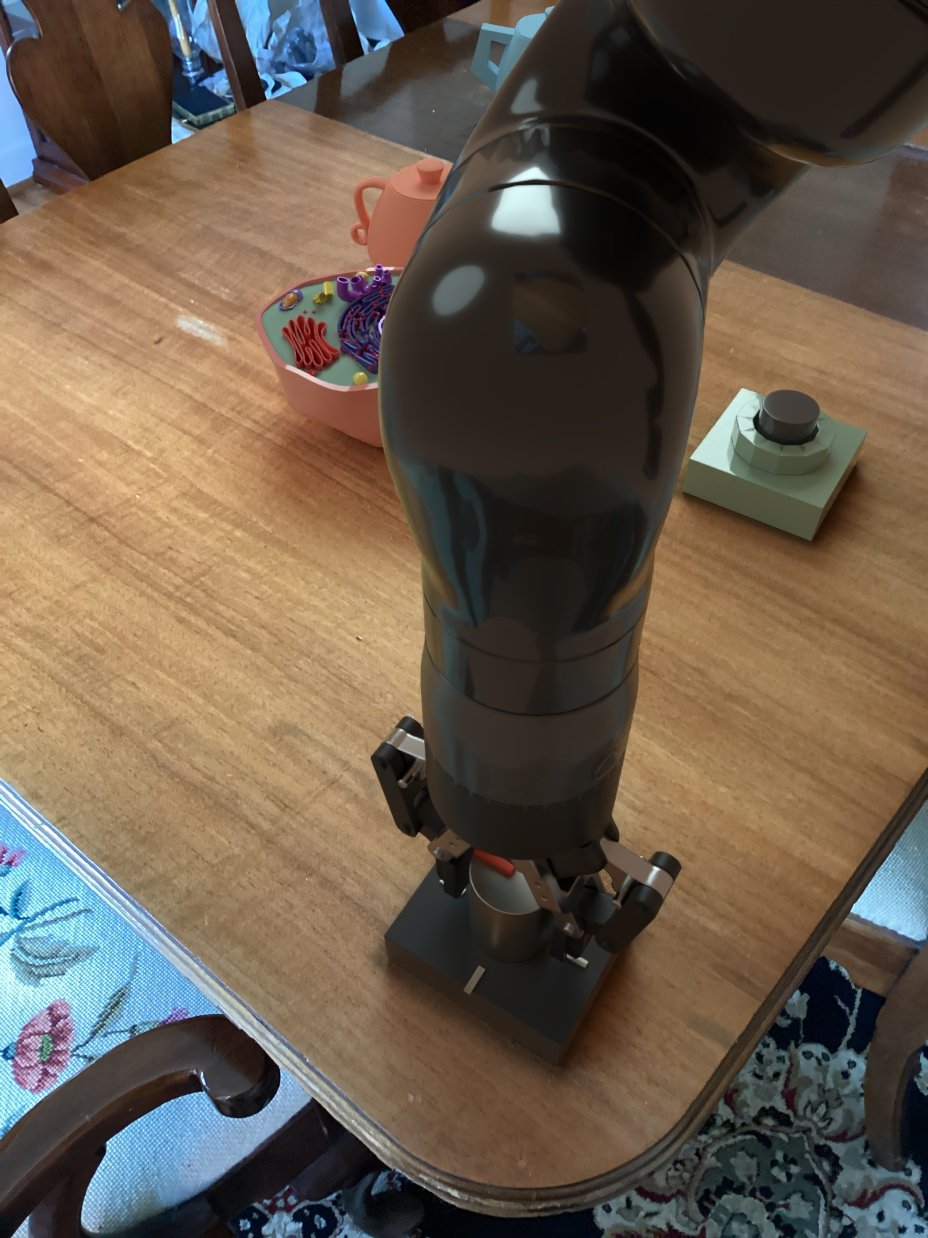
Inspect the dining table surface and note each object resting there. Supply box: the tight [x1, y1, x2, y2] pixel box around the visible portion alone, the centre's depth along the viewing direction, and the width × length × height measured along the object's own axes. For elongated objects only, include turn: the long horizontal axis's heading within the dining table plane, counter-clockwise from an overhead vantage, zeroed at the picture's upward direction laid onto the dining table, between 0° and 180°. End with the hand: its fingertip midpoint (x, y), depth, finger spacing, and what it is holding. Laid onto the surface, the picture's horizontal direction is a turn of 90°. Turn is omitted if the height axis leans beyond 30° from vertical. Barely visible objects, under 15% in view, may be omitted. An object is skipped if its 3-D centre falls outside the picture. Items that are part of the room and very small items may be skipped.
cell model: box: [254, 264, 404, 448], centre depth 77 cm, size 17×20×11 cm
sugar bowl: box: [350, 157, 453, 267], centre depth 92 cm, size 12×14×10 cm
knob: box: [469, 848, 555, 962], centre depth 47 cm, size 4×4×6 cm
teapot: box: [470, 5, 555, 96], centre depth 112 cm, size 20×17×12 cm
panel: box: [383, 862, 620, 1068], centre depth 51 cm, size 10×8×3 cm
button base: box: [682, 387, 869, 542], centre depth 74 cm, size 10×10×5 cm
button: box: [757, 389, 821, 445], centre depth 71 cm, size 4×4×2 cm
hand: (512, 910), depth 49 cm, fingers open, 5 cm apart
